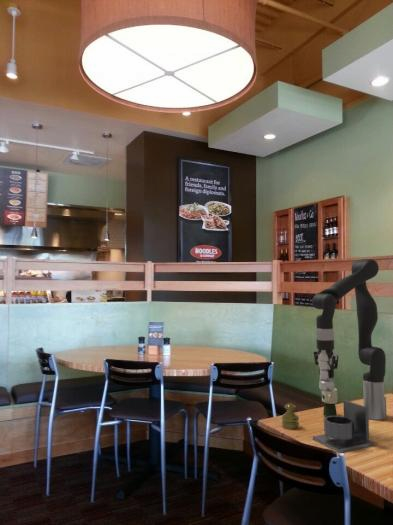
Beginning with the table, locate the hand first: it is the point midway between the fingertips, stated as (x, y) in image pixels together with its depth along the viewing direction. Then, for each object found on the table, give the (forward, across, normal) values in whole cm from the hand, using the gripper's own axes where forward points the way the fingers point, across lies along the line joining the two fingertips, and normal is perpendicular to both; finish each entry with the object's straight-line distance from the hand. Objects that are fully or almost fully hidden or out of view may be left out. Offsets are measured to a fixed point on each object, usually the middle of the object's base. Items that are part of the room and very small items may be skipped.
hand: (326, 376), depth 184 cm
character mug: (+23, +12, -12) cm, 28 cm away
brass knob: (+22, +8, +14) cm, 28 cm away
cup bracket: (+22, -16, +6) cm, 28 cm away
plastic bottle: (+7, 0, 0) cm, 7 cm away
